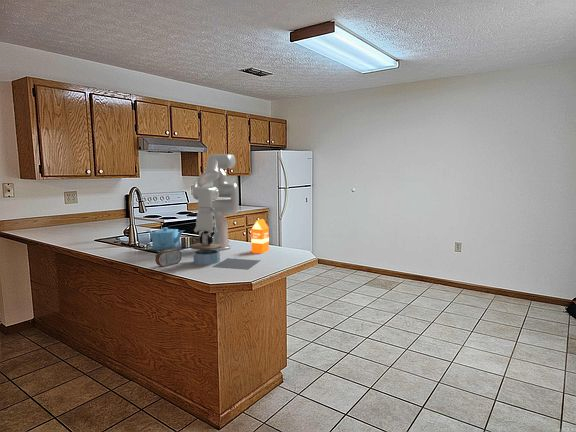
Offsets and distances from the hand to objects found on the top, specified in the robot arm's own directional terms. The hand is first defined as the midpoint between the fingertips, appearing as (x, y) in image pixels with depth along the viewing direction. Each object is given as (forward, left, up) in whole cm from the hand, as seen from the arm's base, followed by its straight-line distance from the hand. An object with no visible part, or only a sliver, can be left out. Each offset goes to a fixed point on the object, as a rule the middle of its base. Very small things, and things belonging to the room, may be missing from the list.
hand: (206, 243), depth 212 cm
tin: (+10, -17, -11) cm, 23 cm away
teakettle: (-21, -39, -11) cm, 46 cm away
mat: (0, +18, -11) cm, 21 cm away
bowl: (0, 0, -11) cm, 11 cm away
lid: (0, 0, -2) cm, 2 cm away
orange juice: (-35, +19, -11) cm, 41 cm away
